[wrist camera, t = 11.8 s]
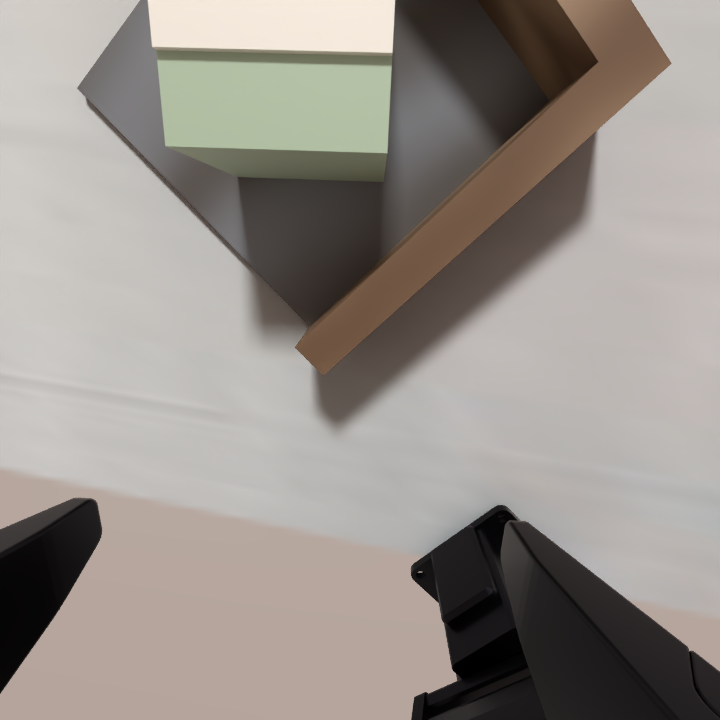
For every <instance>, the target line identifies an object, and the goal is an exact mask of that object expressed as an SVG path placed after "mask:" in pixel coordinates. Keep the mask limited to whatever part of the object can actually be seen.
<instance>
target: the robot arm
mask: <svg viewBox="0 0 720 720" xmlns="http://www.w3.org/2000/svg"><path fill="white" fill-rule="evenodd" d="M501 514H505V515H504V516H503V517H498V516H499V515H501ZM101 535H102V526H101V522H100V515H99V510H98V505H97V502H96V501H95V500H94V499H91V498H73V499H70V500H68V501H66V502H64V503H61V504H59V505H56V506H54V507H52V508H49V509H47V510H45V511H42V512H40V513H38V514H35V515H33V516H31V517H28V518H26V519H24V520H21V521H19V522H17V523H15V524H12V525H10V526H7V527H5V528H3V529H0V693H1V692H2V690H3V689H4V687H5V686H6V685H7V683H8V682H9V681H10V679H11V678H12V676H13V675H14V674H15V672H16V671H17V669H18V668H19V666H20V665H21V664H22V662H23V661H24V659H25V658H26V657H27V655H28V654H29V652H30V651H31V649H32V648H33V647H34V645H35V644H36V642H37V641H38V639H39V638H40V637H41V635H42V634H43V632H44V631H45V629H46V628H47V627H48V625H49V624H50V622H51V621H52V619H53V618H54V616H55V615H56V613H57V612H58V610H59V609H60V607H61V606H62V604H63V602H64V601H65V599H66V598H67V596H68V594H69V593H70V591H71V589H72V587H73V586H74V584H75V582H76V581H77V579H78V577H79V575H80V574H81V572H82V570H83V568H84V567H85V565H86V563H87V562H88V560H89V558H90V557H91V555H92V553H93V551H94V550H95V548H96V546H97V545H98V543H99V541H100V538H101ZM419 571H422V573H418V572H419ZM411 576H412V578H413V580H414V581H415V582H416V583H417V584H419V585H420V586H421V587H422V588H423V589H424V590H425V591H426V592H427V593H428V594H429V595H431V596H432V597H433V598H434V599H435V600H436V601H437V602H438V603H439V606H440V612H441V618H442V621H443V622H444V625H445V630H446V637H447V642H448V648H449V654H450V659H451V665H452V669H453V671H454V672H455V673H456V675H457V681H456V682H454V683H452V684H450V685H447V686H445V687H443V688H441V689H438V690H436V691H434V692H432V693H429V694H428V693H427V692H425V693H422V694H420V695H418V696H416V697H414V703H413V712H412V719H411V720H720V671H718V670H717V669H716V668H714V667H713V666H712V665H711V664H709V663H708V662H707V661H705V660H704V659H703V658H702V657H700V656H699V655H698V654H696V653H695V652H694V651H690V652H689V649H688V647H687V646H686V645H685V644H683V643H682V642H681V641H679V640H678V639H677V638H676V637H674V636H673V635H672V634H670V633H669V632H668V631H667V630H665V629H664V628H663V627H662V626H660V625H659V624H658V623H657V622H655V621H654V620H653V619H651V618H650V617H649V616H648V615H646V614H645V613H644V612H642V611H641V610H640V609H639V608H637V607H636V606H635V605H633V604H632V603H631V602H630V601H628V600H627V599H626V598H624V597H623V596H622V595H621V594H619V593H618V592H617V591H615V590H614V589H613V588H612V587H610V586H609V585H608V584H606V583H605V582H604V581H603V580H601V579H600V578H599V577H597V576H596V575H595V574H594V573H592V572H591V571H590V570H588V569H587V568H586V567H585V566H583V565H582V564H581V563H579V562H578V561H577V560H576V559H574V558H573V557H572V556H571V555H569V554H568V553H567V552H565V551H564V550H563V549H562V548H560V547H559V546H558V545H556V544H555V543H554V542H553V541H551V540H550V539H549V538H547V537H546V536H545V535H544V534H542V533H541V532H540V531H538V530H537V529H536V528H535V527H533V526H532V525H531V524H529V523H528V522H526V521H520V520H519V519H518V518H517V517H516V516H515V514H514V513H513V512H512V511H511V510H510V509H509V508H508V507H506V506H503V505H498V506H496V507H494V508H492V509H491V510H490V511H488V512H487V513H485V514H484V515H483V516H481V517H480V518H478V519H477V520H475V521H474V522H473V523H471V524H470V525H468V526H467V527H465V528H464V529H462V530H461V531H459V532H458V533H457V534H455V535H454V536H452V537H451V538H449V539H448V540H447V541H445V542H444V543H442V544H441V545H439V546H438V547H437V548H435V549H434V550H432V551H431V552H430V553H428V554H427V555H425V556H424V557H423V558H421V559H420V560H418V561H417V562H415V563H414V564H413V565H412V566H411Z"/></svg>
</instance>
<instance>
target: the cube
mask: <svg viewBox="0 0 720 720" xmlns="http://www.w3.org/2000/svg"><path fill="white" fill-rule="evenodd" d="M148 9H149V19H150V30H151V40H152V47H153V48H154V49H155V50H156V53H157V63H158V74H159V84H160V95H161V106H162V116H163V127H164V137H165V146H166V147H168V148H171V149H173V150H175V151H178V152H180V153H182V154H185V155H187V156H189V157H192V158H194V159H196V160H199V161H201V162H203V163H206V164H208V165H210V166H213V167H215V168H218V169H220V170H222V171H225V172H227V173H229V174H232V175H234V176H236V177H250V178H279V179H309V180H339V181H369V182H384V174H385V167H386V160H387V151H388V131H389V111H390V90H391V70H392V53H393V33H394V13H395V0H148Z"/></svg>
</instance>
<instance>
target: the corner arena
mask: <svg viewBox="0 0 720 720" xmlns="http://www.w3.org/2000/svg"><path fill="white" fill-rule="evenodd" d="M670 64H671V62H670V60H669V59H668V57H667V56H666V54H665V53H664V51H663V49H662V48H661V46H660V45H659V43H658V42H657V40H656V38H655V37H654V35H653V34H652V32H651V31H650V29H649V27H648V26H647V24H646V23H645V21H644V20H643V18H642V17H641V15H640V13H639V12H638V10H637V9H636V7H635V6H634V4H633V2H632V1H631V0H395V13H394V33H393V53H392V70H391V90H390V111H389V131H388V151H387V160H386V167H385V174H384V182H369V181H339V180H309V179H279V178H250V177H236V176H234V175H232V174H229V173H227V172H225V171H222V170H220V169H218V168H215V167H213V166H210V165H208V164H206V163H203V162H201V161H199V160H196V159H194V158H192V157H189V156H187V155H185V154H182V153H180V152H178V151H175V150H173V149H171V148H168V147H166V146H165V137H164V127H163V116H162V106H161V95H160V84H159V74H158V63H157V53H156V50H155V49H154V48H153V47H152V40H151V30H150V19H149V9H148V0H140V1H139V3H138V4H137V6H136V7H135V8H134V10H133V11H132V13H131V14H130V15H129V17H128V18H127V20H126V21H125V22H124V24H123V25H122V26H121V28H120V29H119V31H118V32H117V33H116V35H115V36H114V38H113V39H112V40H111V42H110V43H109V45H108V46H107V47H106V49H105V50H104V51H103V53H102V54H101V56H100V57H99V58H98V60H97V61H96V63H95V64H94V65H93V67H92V68H91V69H90V71H89V72H88V74H87V75H86V76H85V78H84V79H83V81H82V82H81V83H80V85H79V86H78V88H77V89H78V90H79V91H80V92H81V93H82V94H83V95H84V96H85V97H86V98H87V99H88V100H89V101H90V102H91V103H92V104H93V105H94V106H95V107H96V108H97V109H98V110H99V111H100V112H101V113H102V114H103V115H104V116H105V117H106V118H107V119H108V120H109V121H110V122H111V123H112V124H113V125H114V126H115V127H116V128H117V129H118V130H119V132H120V133H121V134H122V135H123V136H124V137H125V138H126V139H127V140H128V141H129V142H130V143H131V144H132V145H133V146H134V147H135V148H136V149H137V150H138V151H139V152H140V153H141V154H142V155H143V156H144V157H145V158H146V159H147V160H148V161H149V162H150V163H151V164H152V165H153V166H154V167H155V168H156V169H157V170H158V171H159V172H160V173H161V174H162V176H163V177H164V178H165V179H166V180H167V181H168V182H169V183H170V184H171V185H172V186H173V187H174V188H175V189H176V190H177V191H178V192H179V193H180V194H181V195H182V196H183V197H184V198H185V199H186V200H187V201H188V202H189V203H190V204H191V205H192V206H193V207H194V208H195V209H196V210H197V211H198V212H199V213H200V214H201V215H202V216H203V217H204V219H205V220H206V221H207V222H208V223H209V224H210V225H211V226H212V227H213V228H214V229H215V230H216V231H217V232H218V233H219V234H220V235H221V236H222V237H223V238H224V239H225V240H226V241H227V242H228V243H229V244H230V245H231V246H232V247H233V248H234V249H235V250H236V251H237V252H238V253H239V254H240V255H241V256H242V257H243V258H244V259H245V260H246V262H247V263H248V264H249V265H250V266H251V267H252V268H253V269H254V270H255V271H256V272H257V273H258V274H259V275H260V276H261V277H262V278H263V279H264V280H265V281H266V282H267V283H268V284H269V285H270V286H271V287H272V288H273V289H274V290H275V291H276V292H277V293H278V294H279V295H280V296H281V297H282V298H283V299H284V300H285V301H286V302H287V303H288V304H289V306H290V307H291V308H292V309H293V310H294V311H295V312H296V313H297V314H298V315H299V316H300V317H301V318H302V319H303V320H304V321H305V322H306V323H307V324H308V325H309V326H310V327H309V329H308V330H307V331H306V333H305V334H304V336H303V337H302V338H301V340H300V341H299V342H298V344H297V345H296V346H295V348H296V349H297V350H298V351H299V352H300V353H301V354H302V355H303V356H304V357H305V358H306V359H307V360H308V361H309V362H310V363H311V364H312V365H313V366H314V367H315V368H316V369H317V370H318V371H319V372H320V373H321V374H322V375H323V376H324V375H325V374H326V373H327V372H328V371H329V370H330V369H331V368H332V367H334V366H335V365H336V364H337V363H338V362H339V361H340V360H341V359H343V358H344V357H345V356H346V355H347V354H348V353H349V352H350V351H351V350H353V349H354V348H355V347H356V346H357V345H358V344H359V343H360V342H361V341H363V340H364V339H365V338H366V337H367V336H368V335H369V334H370V333H372V332H373V331H374V330H375V329H376V328H377V327H378V326H379V325H380V324H382V323H383V322H384V321H385V320H386V319H387V318H388V317H389V316H390V315H392V314H393V313H394V312H395V311H396V310H397V309H398V308H399V307H401V306H402V305H403V304H404V303H405V302H406V301H407V300H408V299H409V298H411V297H412V296H413V295H414V294H415V293H416V292H417V291H418V290H419V289H421V288H422V287H423V286H424V285H425V284H426V283H427V282H428V281H429V280H431V279H432V278H433V277H434V276H435V275H436V274H437V273H438V272H440V271H441V270H442V269H443V268H444V267H445V266H446V265H447V264H448V263H450V262H451V261H452V260H453V259H454V258H455V257H456V256H457V255H458V254H460V253H461V252H462V251H463V250H464V249H465V248H466V247H467V246H469V245H470V244H471V243H472V242H473V241H474V240H475V239H476V238H477V237H479V236H480V235H481V234H482V233H483V232H484V231H485V230H486V229H487V228H489V227H490V226H491V225H492V224H493V223H494V222H495V221H496V220H498V219H499V218H500V217H501V216H502V215H503V214H504V213H505V212H506V211H508V210H509V209H510V208H511V207H512V206H513V205H514V204H515V203H516V202H518V201H519V200H520V199H521V198H522V197H523V196H524V195H525V194H527V193H528V192H529V191H530V190H531V189H532V188H533V187H534V186H535V185H537V184H538V183H539V182H540V181H541V180H542V179H543V178H544V177H545V176H547V175H548V174H549V173H550V172H551V171H552V170H553V169H554V168H556V167H557V166H558V165H559V164H560V163H561V162H562V161H563V160H564V159H566V158H567V157H568V156H569V155H570V154H571V153H572V152H573V151H574V150H576V149H577V148H578V147H579V146H580V145H581V144H582V143H583V142H585V141H586V140H587V139H588V138H589V137H590V136H591V135H592V134H593V133H595V132H596V131H597V130H598V129H599V128H600V127H601V126H602V125H603V124H605V123H606V122H607V121H608V120H609V119H610V118H611V117H612V116H614V115H615V114H616V113H617V112H618V111H619V110H620V109H621V108H622V107H624V106H625V105H626V104H627V103H628V102H629V101H630V100H631V99H632V98H634V97H635V96H636V95H637V94H638V93H639V92H640V91H641V90H643V89H644V88H645V87H646V86H647V85H648V84H649V83H650V82H651V81H653V80H654V79H655V78H656V77H657V76H658V75H659V74H660V73H661V72H663V71H664V70H665V69H666V68H667V67H668V66H669V65H670Z"/></svg>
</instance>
